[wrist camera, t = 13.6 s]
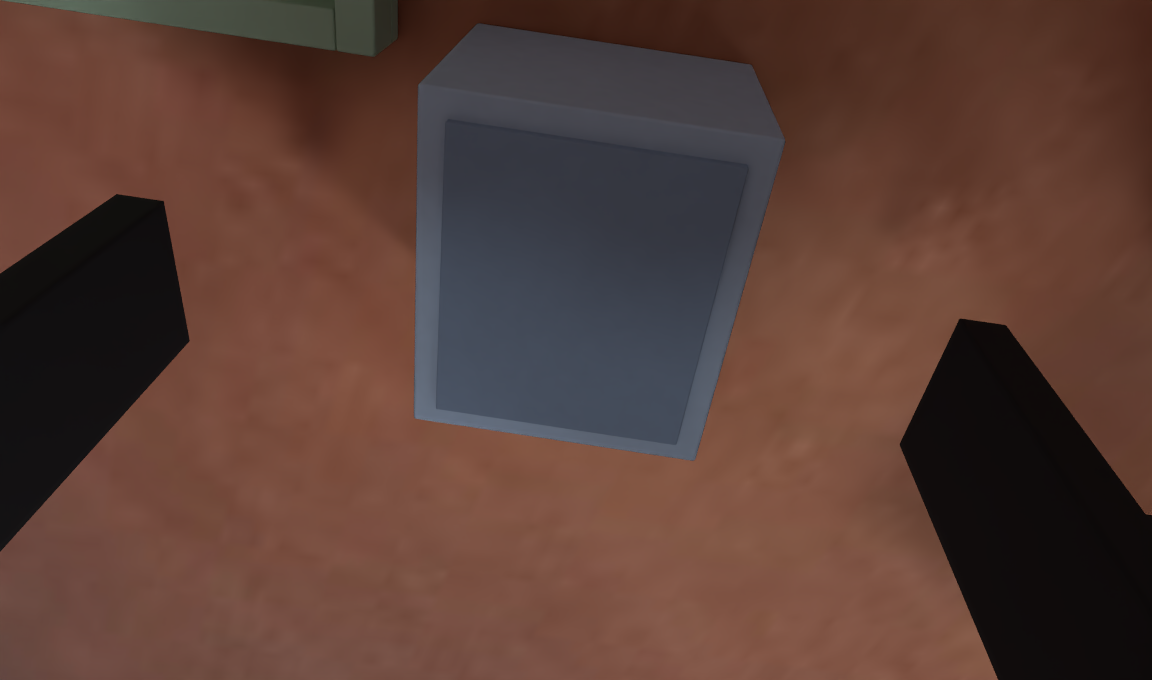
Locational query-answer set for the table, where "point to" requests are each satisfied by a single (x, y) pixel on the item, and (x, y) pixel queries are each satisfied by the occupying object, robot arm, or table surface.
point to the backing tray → (262, 19)
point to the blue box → (584, 236)
